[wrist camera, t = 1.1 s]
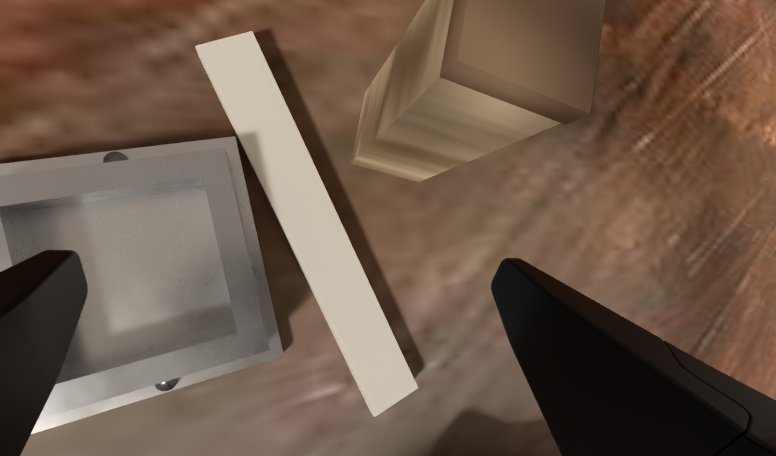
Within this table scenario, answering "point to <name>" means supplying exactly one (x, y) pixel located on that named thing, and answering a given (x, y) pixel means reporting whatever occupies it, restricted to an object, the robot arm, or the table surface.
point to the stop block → (477, 82)
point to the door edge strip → (307, 217)
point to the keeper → (145, 268)
